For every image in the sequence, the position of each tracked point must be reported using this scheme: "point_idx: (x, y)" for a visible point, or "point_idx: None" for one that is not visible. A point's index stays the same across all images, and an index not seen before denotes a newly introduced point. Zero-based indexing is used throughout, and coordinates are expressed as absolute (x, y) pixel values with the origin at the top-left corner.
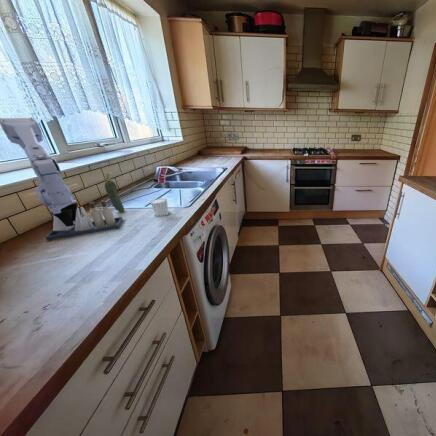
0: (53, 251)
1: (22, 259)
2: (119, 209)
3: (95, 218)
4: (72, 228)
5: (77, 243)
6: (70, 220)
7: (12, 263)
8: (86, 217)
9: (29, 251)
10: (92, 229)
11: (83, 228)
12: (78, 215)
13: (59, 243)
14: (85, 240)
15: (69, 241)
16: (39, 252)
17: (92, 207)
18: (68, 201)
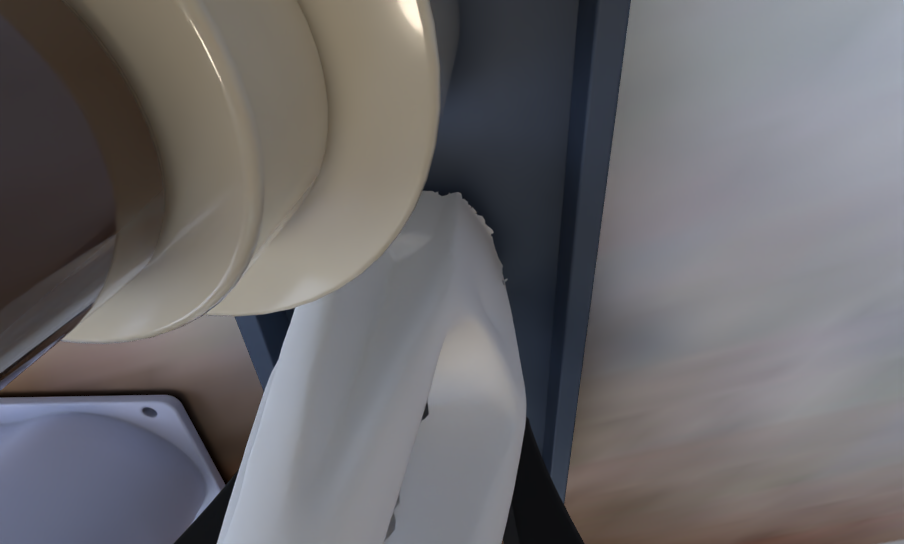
0: (851, 382)
1: (821, 510)
2: None
3: (453, 59)
4: None
5: (821, 225)
6: (560, 518)
7: (844, 533)
8: (447, 298)
9: (686, 514)
10: (616, 107)
11: (497, 268)
12: (510, 498)
13: (664, 391)
14: (792, 150)
15: (675, 324)
16: (770, 462)
17: (67, 182)
18: None
